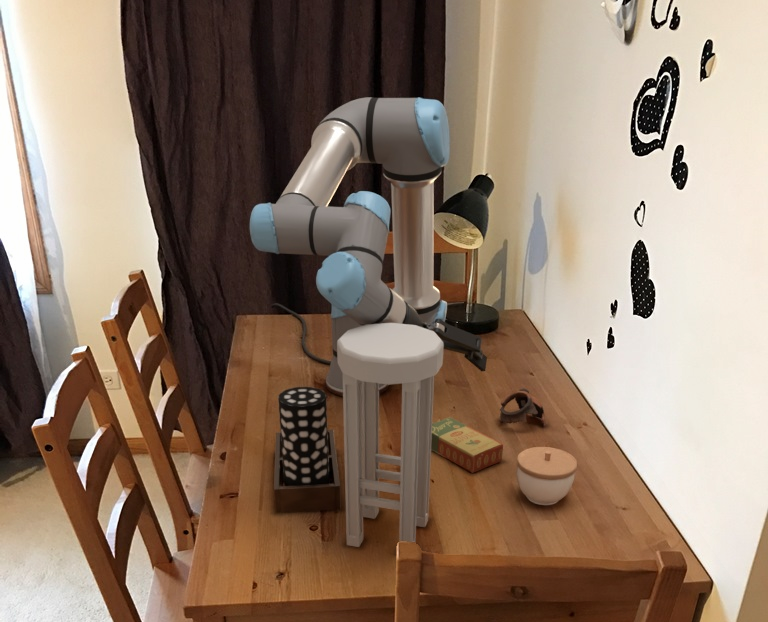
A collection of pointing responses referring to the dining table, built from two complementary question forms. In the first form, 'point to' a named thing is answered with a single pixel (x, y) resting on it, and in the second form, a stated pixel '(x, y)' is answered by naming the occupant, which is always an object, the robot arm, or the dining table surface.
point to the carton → (464, 445)
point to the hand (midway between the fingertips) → (452, 368)
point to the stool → (360, 404)
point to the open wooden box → (307, 494)
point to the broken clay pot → (522, 407)
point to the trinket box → (545, 474)
